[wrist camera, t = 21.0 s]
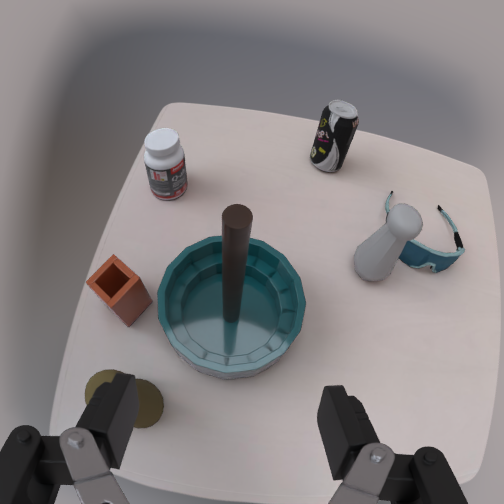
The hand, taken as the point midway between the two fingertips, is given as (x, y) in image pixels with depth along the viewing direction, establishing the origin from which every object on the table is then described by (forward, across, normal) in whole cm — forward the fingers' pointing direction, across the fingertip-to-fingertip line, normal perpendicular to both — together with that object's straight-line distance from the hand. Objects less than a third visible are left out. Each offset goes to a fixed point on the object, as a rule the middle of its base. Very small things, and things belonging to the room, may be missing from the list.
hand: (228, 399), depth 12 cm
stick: (+25, 0, +8) cm, 26 cm away
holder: (+26, +13, +8) cm, 30 cm away
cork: (+17, +10, +17) cm, 26 cm away
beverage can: (+45, -14, -11) cm, 48 cm away
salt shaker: (+31, -19, +3) cm, 36 cm away
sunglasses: (+36, -30, -2) cm, 46 cm away
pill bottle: (+39, +11, -5) cm, 41 cm away
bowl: (+25, 0, +9) cm, 27 cm away
